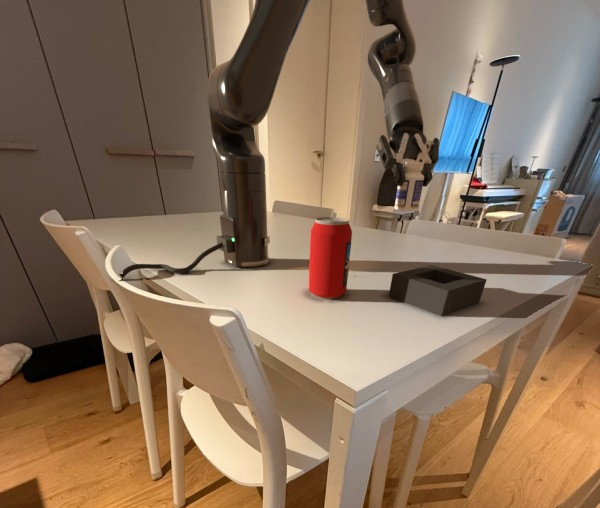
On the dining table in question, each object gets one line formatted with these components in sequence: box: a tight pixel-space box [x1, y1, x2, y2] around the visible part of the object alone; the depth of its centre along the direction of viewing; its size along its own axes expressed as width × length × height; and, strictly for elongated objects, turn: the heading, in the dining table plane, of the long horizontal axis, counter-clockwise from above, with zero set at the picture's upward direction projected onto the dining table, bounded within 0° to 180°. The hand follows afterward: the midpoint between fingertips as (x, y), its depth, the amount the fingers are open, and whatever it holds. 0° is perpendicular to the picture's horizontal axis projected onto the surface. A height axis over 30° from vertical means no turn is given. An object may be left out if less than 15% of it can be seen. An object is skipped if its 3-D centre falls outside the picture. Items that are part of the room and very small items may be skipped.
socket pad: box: [388, 264, 488, 317], centre depth 58 cm, size 11×11×4 cm
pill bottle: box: [394, 161, 425, 212], centre depth 74 cm, size 5×5×9 cm
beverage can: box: [308, 216, 353, 300], centre depth 57 cm, size 7×7×12 cm
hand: (414, 183), depth 72 cm, fingers closed on pill bottle, 5 cm apart
